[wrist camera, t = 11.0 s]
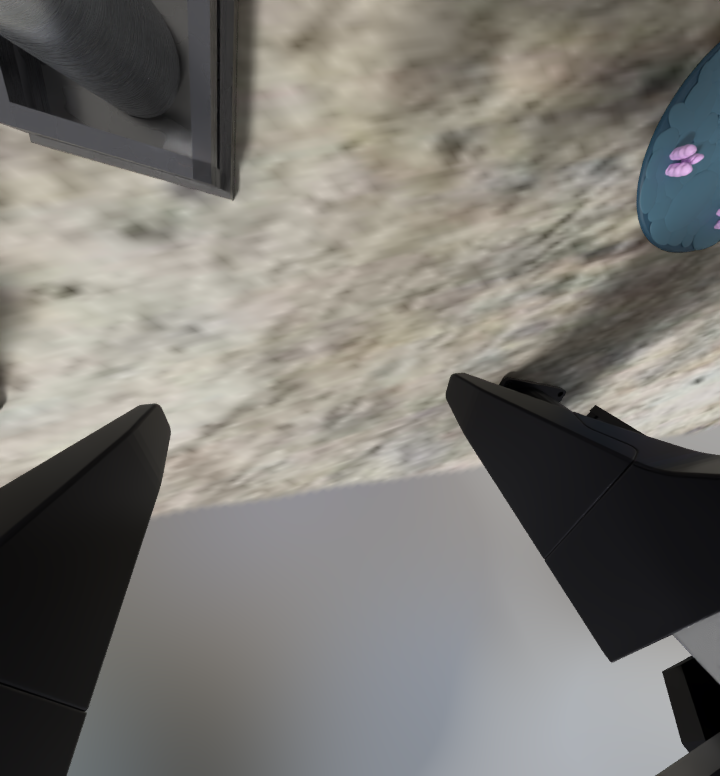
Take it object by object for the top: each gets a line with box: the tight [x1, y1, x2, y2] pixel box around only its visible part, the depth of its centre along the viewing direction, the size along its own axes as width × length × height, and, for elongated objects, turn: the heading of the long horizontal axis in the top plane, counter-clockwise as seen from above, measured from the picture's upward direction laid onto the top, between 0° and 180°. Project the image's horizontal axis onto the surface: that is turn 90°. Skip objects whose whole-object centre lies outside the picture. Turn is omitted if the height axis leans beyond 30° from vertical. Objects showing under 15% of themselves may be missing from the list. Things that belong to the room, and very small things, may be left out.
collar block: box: [0, 0, 238, 200], centre depth 11 cm, size 9×9×3 cm
